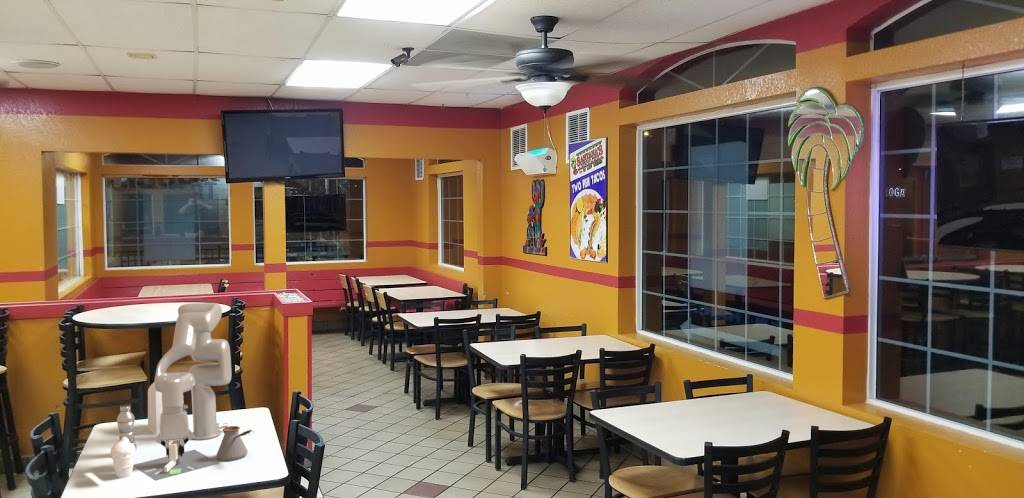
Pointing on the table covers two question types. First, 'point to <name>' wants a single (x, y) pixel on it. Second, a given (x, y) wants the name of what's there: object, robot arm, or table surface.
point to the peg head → (173, 455)
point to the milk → (154, 409)
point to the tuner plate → (186, 464)
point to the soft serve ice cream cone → (123, 457)
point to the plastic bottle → (126, 424)
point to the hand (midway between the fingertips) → (175, 455)
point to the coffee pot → (232, 444)
